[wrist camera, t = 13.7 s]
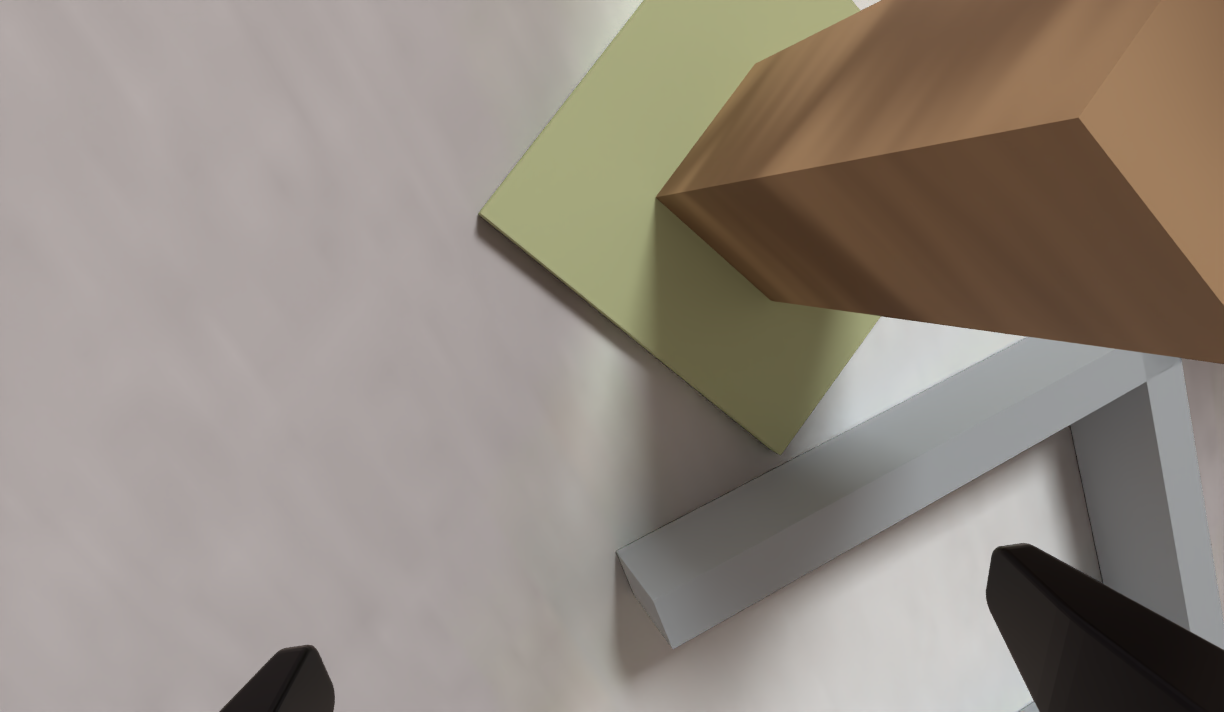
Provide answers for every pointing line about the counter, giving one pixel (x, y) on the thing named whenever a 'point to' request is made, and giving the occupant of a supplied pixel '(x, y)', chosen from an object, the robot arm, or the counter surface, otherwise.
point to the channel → (947, 459)
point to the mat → (655, 237)
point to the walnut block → (983, 170)
